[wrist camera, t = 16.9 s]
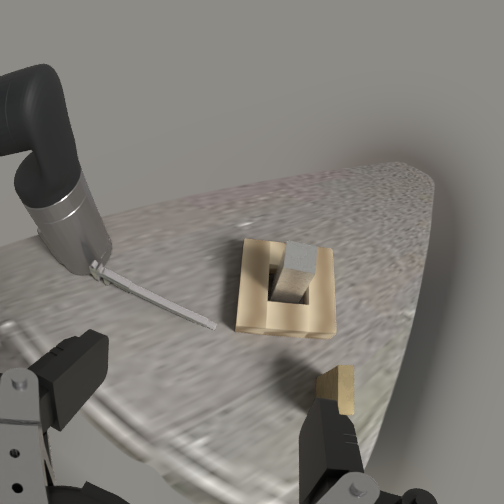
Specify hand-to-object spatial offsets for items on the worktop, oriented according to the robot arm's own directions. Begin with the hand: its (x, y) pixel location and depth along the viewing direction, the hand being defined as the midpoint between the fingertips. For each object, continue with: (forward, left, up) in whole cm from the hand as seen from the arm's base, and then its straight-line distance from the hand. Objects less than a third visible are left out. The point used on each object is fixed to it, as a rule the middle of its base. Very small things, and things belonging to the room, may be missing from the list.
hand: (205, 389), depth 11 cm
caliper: (-11, +16, -33) cm, 38 cm away
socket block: (+9, +20, -33) cm, 39 cm away
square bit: (+9, +20, -33) cm, 39 cm away
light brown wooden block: (+15, +4, -33) cm, 36 cm away
